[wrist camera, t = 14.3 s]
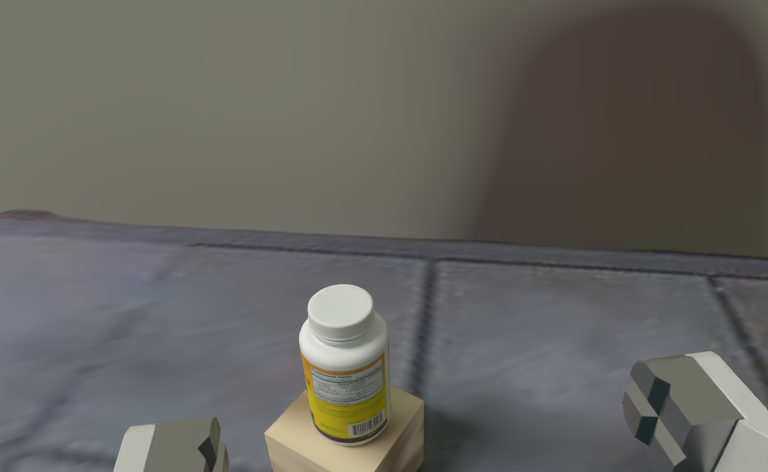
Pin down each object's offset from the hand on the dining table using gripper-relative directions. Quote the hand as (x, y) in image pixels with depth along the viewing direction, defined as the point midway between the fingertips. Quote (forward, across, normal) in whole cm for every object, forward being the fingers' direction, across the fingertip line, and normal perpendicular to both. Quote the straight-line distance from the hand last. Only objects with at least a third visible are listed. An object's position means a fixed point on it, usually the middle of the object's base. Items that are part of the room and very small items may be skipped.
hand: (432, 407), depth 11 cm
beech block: (+19, +2, +30) cm, 35 cm away
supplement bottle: (+19, +1, +23) cm, 30 cm away
